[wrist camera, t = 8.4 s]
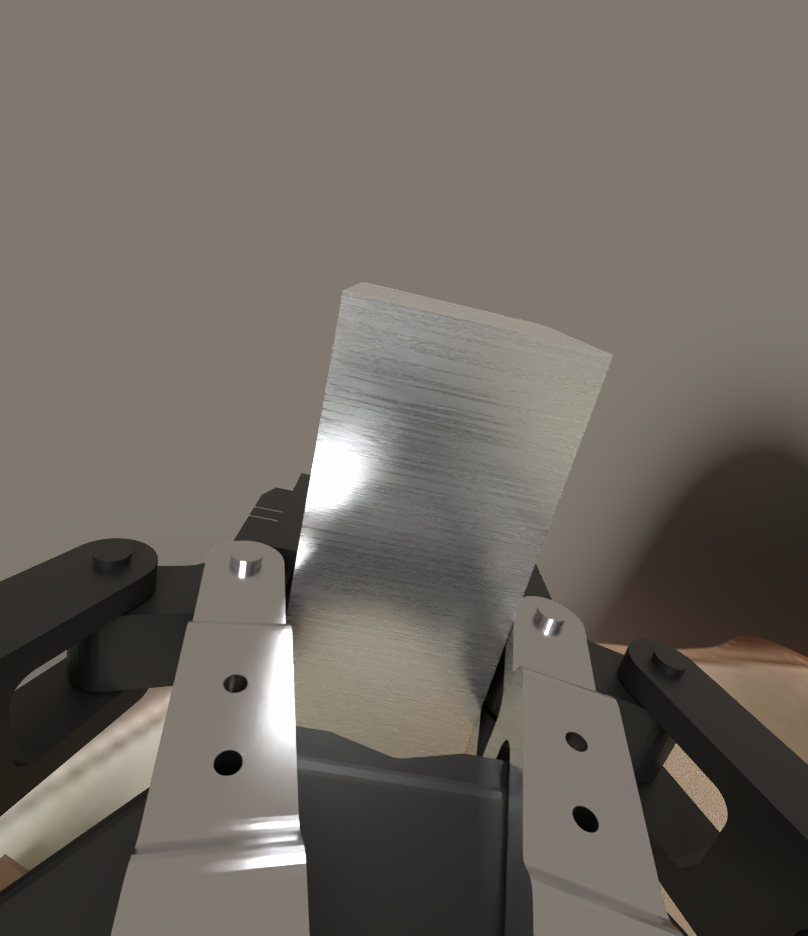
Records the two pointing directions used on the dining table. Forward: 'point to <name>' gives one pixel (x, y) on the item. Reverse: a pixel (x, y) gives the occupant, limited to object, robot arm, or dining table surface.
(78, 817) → the dining table surface
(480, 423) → the grey rectangular block
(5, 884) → the wooden socket base
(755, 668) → the dining table surface
